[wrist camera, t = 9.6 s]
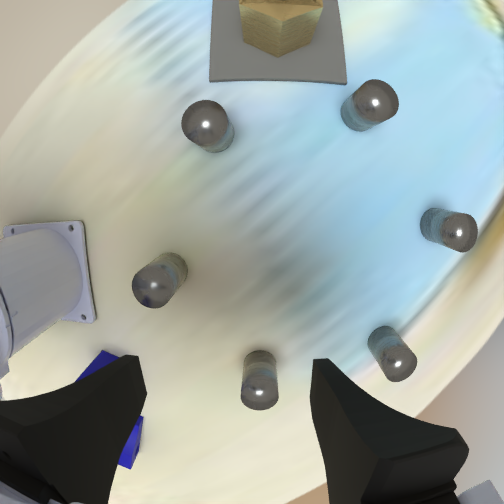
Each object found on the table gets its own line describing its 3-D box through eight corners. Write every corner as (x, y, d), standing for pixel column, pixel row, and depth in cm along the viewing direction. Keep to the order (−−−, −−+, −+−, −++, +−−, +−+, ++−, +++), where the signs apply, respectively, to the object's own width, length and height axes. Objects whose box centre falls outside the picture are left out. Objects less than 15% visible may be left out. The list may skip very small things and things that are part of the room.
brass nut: (243, 57, 17) (238, 20, 12) (244, 1, 16) (239, -40, 11) (311, 59, 17) (325, 23, 12) (306, 3, 16) (316, -37, 11)
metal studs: (167, 372, 22) (152, 402, 18) (151, 99, 18) (128, 82, 14) (421, 364, 21) (442, 390, 18) (444, 113, 17) (475, 103, 13)
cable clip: (139, 449, 25) (121, 490, 19) (100, 433, 25) (78, 471, 19) (151, 369, 22) (126, 415, 16) (103, 349, 22) (68, 388, 16)
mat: (210, 82, 18) (209, 80, 17) (214, -15, 16) (214, -18, 15) (345, 85, 17) (347, 83, 17) (334, -12, 15) (335, -14, 15)
